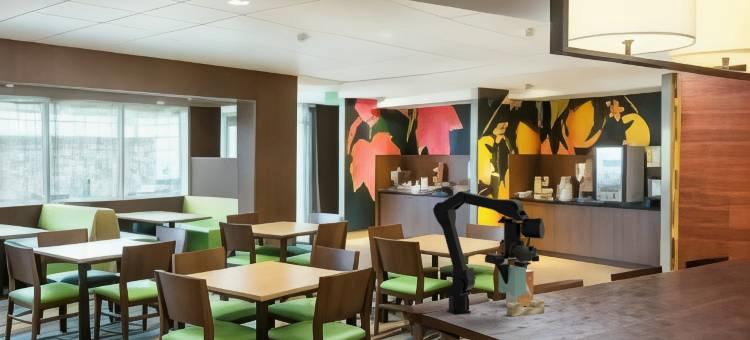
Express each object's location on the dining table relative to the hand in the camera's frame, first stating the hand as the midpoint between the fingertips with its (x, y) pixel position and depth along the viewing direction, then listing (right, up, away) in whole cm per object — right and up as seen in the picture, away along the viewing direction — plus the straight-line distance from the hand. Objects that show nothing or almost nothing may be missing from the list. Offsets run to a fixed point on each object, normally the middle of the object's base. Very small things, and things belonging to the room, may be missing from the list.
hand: (512, 283), depth 219 cm
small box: (+7, -12, +22) cm, 26 cm away
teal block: (0, -3, 0) cm, 3 cm away
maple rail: (+7, -12, +8) cm, 16 cm away
